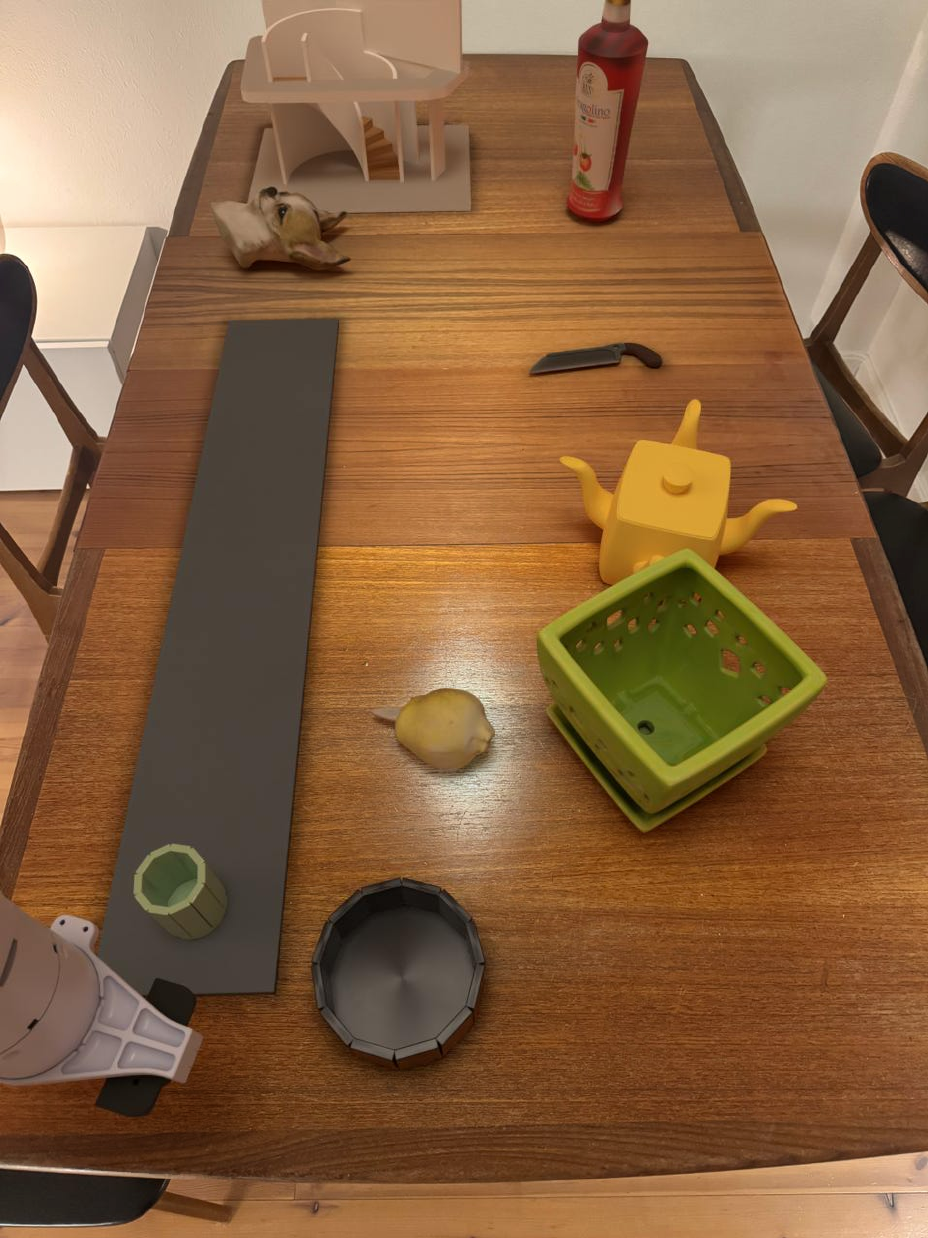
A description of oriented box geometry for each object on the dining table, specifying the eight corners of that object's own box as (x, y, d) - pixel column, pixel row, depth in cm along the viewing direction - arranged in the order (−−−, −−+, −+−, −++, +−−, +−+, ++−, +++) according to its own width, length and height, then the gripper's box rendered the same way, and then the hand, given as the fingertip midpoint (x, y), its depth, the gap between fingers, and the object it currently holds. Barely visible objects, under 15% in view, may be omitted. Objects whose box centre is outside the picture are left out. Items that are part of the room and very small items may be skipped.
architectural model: (244, 214, 108) (193, -5, 88) (264, 127, 120) (224, -82, 100) (471, 210, 108) (469, -10, 88) (468, 124, 120) (467, -87, 100)
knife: (651, 342, 93) (652, 337, 92) (663, 367, 91) (664, 361, 90) (523, 359, 92) (523, 353, 91) (531, 384, 89) (531, 378, 89)
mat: (275, 993, 57) (274, 992, 56) (90, 998, 57) (88, 996, 56) (339, 322, 96) (338, 318, 95) (229, 324, 96) (228, 320, 95)
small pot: (217, 944, 58) (193, 919, 53) (152, 934, 58) (121, 908, 53) (236, 879, 60) (215, 849, 56) (174, 870, 61) (147, 839, 56)
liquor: (551, 214, 107) (572, -63, 84) (586, 188, 110) (616, -84, 87) (600, 235, 104) (635, -44, 81) (635, 209, 107) (678, -67, 84)
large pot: (458, 1090, 53) (457, 1080, 50) (299, 1042, 55) (286, 1029, 51) (499, 922, 59) (500, 902, 55) (354, 883, 61) (345, 861, 57)
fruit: (388, 686, 70) (509, 705, 67) (371, 760, 68) (494, 782, 65) (365, 666, 64) (495, 685, 62) (345, 745, 63) (479, 769, 60)
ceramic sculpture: (209, 162, 98) (344, 161, 99) (223, 234, 105) (348, 231, 107) (204, 216, 92) (347, 214, 94) (219, 288, 99) (352, 285, 101)
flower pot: (781, 766, 65) (839, 680, 55) (635, 867, 61) (668, 794, 51) (659, 636, 72) (690, 536, 62) (520, 718, 68) (528, 627, 57)
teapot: (637, 642, 72) (657, 569, 64) (546, 527, 79) (554, 449, 71) (775, 572, 76) (811, 496, 68) (677, 469, 83) (698, 389, 75)
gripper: (195, 933, 36) (262, 1000, 47) (-108, 845, 38) (24, 929, 49) (113, 1123, 32) (207, 1147, 43) (-218, 1013, 34) (-48, 1063, 46)
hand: (105, 1041), depth 46 cm, fingers open, 7 cm apart
